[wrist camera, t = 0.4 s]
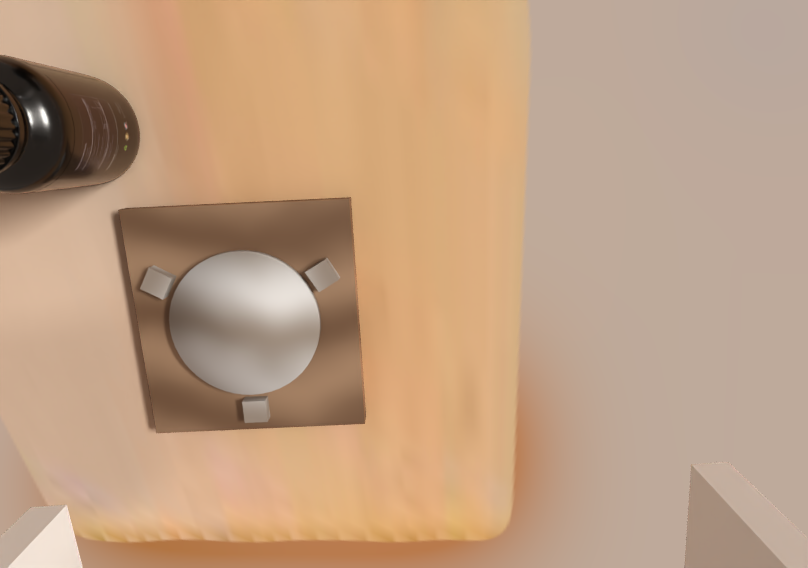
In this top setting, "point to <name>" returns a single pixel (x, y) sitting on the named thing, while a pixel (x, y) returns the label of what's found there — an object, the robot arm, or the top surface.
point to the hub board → (247, 313)
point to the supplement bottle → (61, 129)
